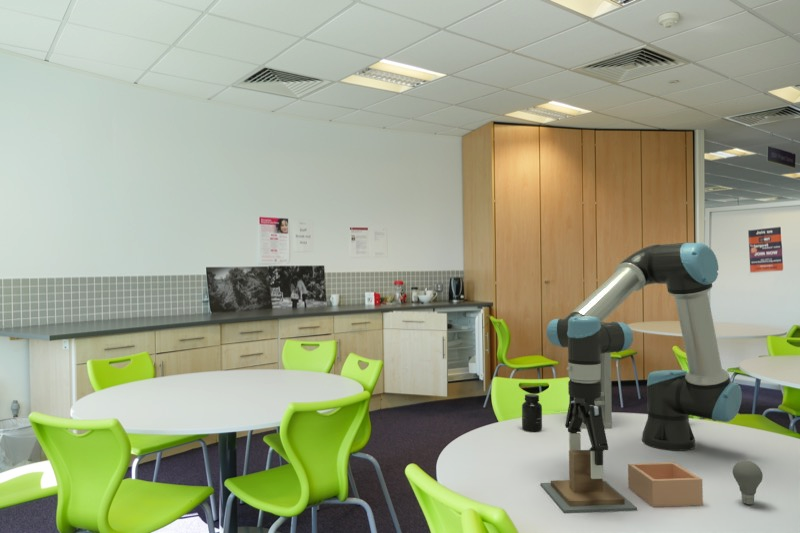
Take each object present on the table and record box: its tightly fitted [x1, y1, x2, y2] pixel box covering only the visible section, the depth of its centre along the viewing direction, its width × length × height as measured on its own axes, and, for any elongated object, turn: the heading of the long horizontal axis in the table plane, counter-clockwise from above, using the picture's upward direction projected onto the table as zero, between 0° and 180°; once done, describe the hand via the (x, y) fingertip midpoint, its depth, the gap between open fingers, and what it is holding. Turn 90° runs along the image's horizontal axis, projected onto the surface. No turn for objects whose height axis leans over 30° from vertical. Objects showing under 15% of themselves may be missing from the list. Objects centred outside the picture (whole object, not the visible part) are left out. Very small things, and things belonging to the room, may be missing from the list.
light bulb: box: [732, 459, 764, 505], centre depth 132 cm, size 6×6×10 cm
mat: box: [540, 480, 638, 514], centre depth 136 cm, size 17×17×1 cm
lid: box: [550, 449, 625, 506], centre depth 136 cm, size 13×13×10 cm
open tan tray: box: [627, 462, 704, 508], centre depth 136 cm, size 12×12×6 cm
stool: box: [569, 353, 613, 430], centre depth 203 cm, size 16×16×35 cm
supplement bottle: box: [521, 393, 543, 433], centre depth 196 cm, size 7×7×12 cm
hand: (585, 468), depth 136 cm, fingers open, 13 cm apart
